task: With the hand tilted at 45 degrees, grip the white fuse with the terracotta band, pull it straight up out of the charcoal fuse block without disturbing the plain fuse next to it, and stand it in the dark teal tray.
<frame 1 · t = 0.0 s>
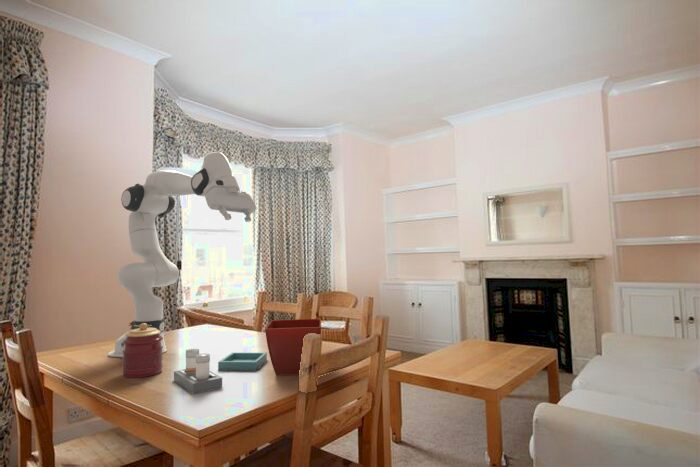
hand: (238, 220, 145), 54 cm above the table, tool tilted 30°, fingers open, 8 cm apart
fuse block: (197, 383, 129), on the table
marked fuse: (192, 380, 132), resting in fuse block
plant pot: (295, 370, 143), on the table
tray: (243, 365, 151), on the table
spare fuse: (202, 387, 126), resting in fuse block
canister: (142, 373, 142), on the table
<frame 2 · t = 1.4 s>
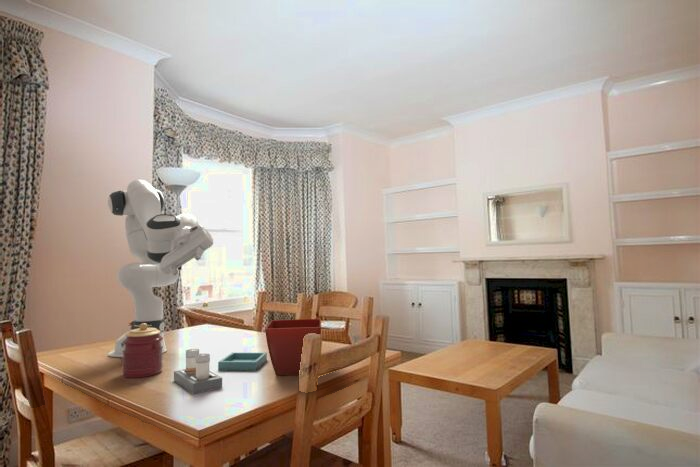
hand: (186, 266, 133), 38 cm above the table, tool tilted 55°, fingers open, 8 cm apart
nothing on the table moved.
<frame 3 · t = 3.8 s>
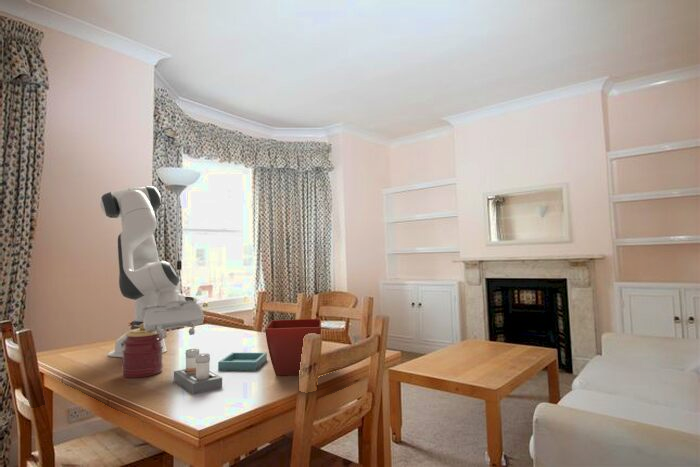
hand: (178, 335, 140), 14 cm above the table, tool tilted 45°, fingers open, 8 cm apart
nothing on the table moved.
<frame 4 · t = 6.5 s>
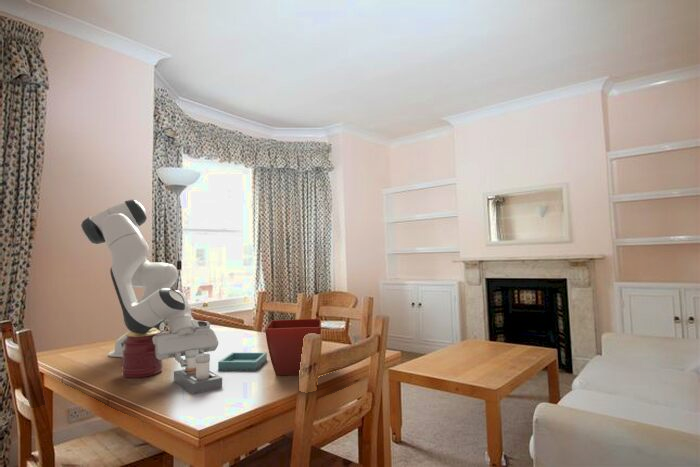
hand: (192, 364, 132), 6 cm above the table, tool tilted 45°, fingers closed on marked fuse, 4 cm apart
marked fuse: (192, 380, 132), resting in fuse block, touching gripper
canister: (142, 373, 142), on the table, touching arm
everything else where it was.
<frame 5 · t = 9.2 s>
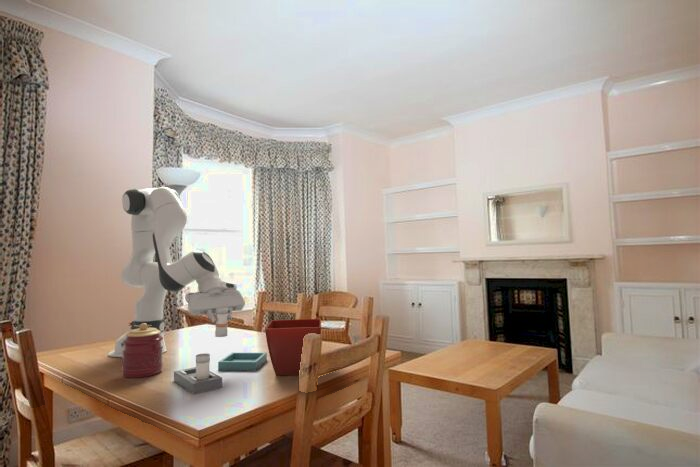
hand: (222, 320, 143), 18 cm above the table, tool tilted 45°, fingers closed on marked fuse, 4 cm apart
marked fuse: (221, 335, 143), point 13 cm above the table, touching gripper
canister: (142, 373, 142), on the table
everything else where it was.
when the fingers open (8 cm above the table, at t = 12.2 s): marked fuse drops 1 cm, resting on tray.
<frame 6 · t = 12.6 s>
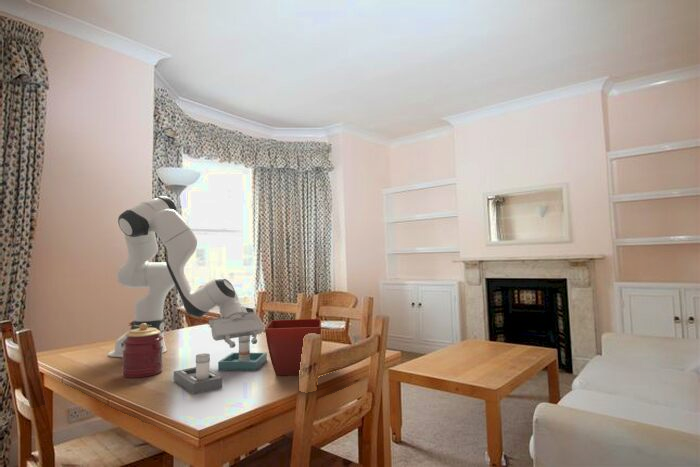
hand: (244, 344, 151), 8 cm above the table, tool tilted 45°, fingers open, 8 cm apart
marked fuse: (244, 362, 151), point 1 cm above the table, touching tray
everything else where it was.
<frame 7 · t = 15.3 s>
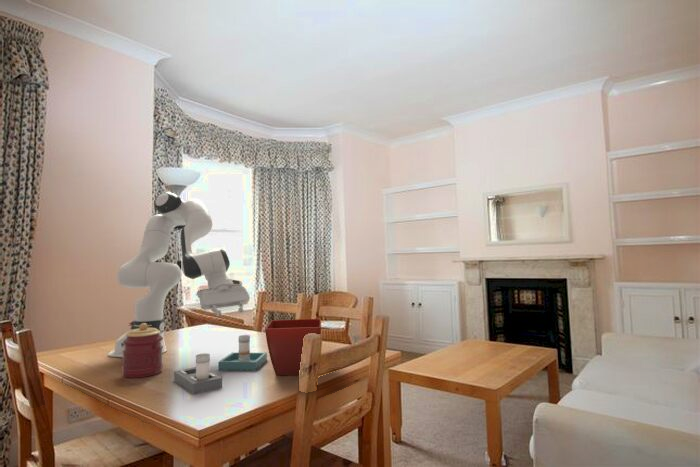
hand: (230, 313, 161), 18 cm above the table, tool tilted 45°, fingers open, 8 cm apart
nothing on the table moved.
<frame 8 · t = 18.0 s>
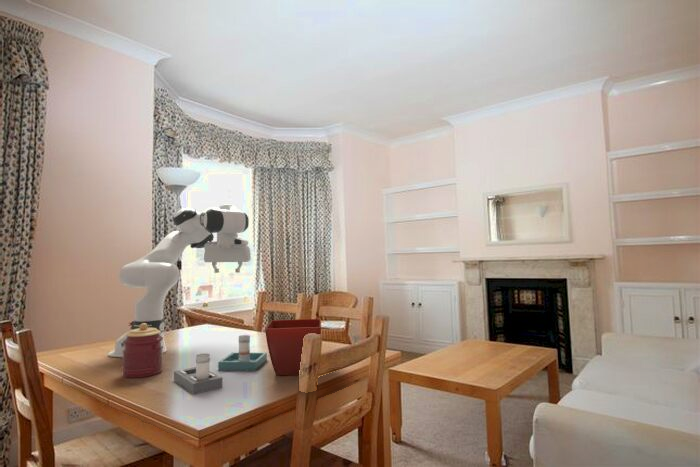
hand: (227, 272, 175), 34 cm above the table, tool pointing down, fingers open, 8 cm apart
nothing on the table moved.
at the end: marked fuse inside the target area on the tray (0.4 cm from its centre), point 0.8 cm above the tray's base; marked fuse tilted 0°; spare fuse moved 0.0 cm from its start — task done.
